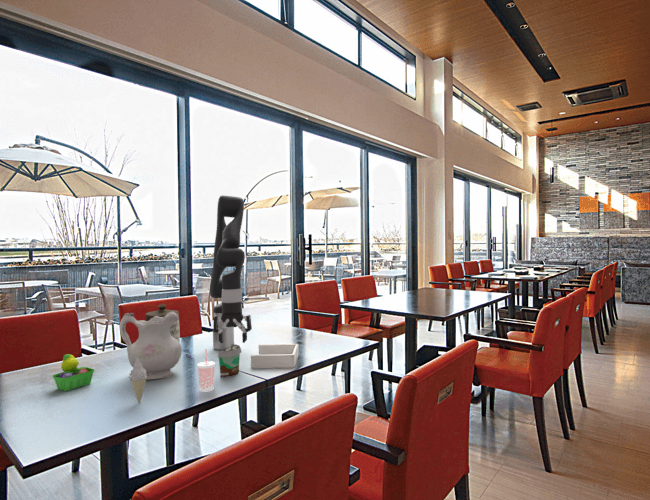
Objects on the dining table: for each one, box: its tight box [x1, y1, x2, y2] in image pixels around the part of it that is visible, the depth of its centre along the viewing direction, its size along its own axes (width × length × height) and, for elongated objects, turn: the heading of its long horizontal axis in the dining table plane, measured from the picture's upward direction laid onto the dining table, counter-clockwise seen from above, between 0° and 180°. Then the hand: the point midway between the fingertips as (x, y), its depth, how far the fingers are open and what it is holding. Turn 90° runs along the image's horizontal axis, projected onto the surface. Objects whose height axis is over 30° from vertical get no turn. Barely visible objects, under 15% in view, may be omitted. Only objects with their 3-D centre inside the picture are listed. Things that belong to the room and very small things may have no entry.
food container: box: [217, 343, 242, 378], centre depth 162 cm, size 12×6×10 cm, turn 168°
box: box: [250, 343, 300, 369], centre depth 178 cm, size 18×18×5 cm
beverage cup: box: [196, 348, 216, 393], centre depth 146 cm, size 6×6×14 cm
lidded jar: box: [145, 303, 181, 343], centre depth 199 cm, size 15×15×22 cm
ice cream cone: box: [129, 357, 147, 404], centre depth 134 cm, size 5×5×15 cm
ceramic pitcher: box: [119, 312, 183, 381], centre depth 162 cm, size 22×20×25 cm
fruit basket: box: [52, 353, 95, 392], centre depth 152 cm, size 11×9×11 cm
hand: (233, 342), depth 162 cm, fingers open, 8 cm apart
